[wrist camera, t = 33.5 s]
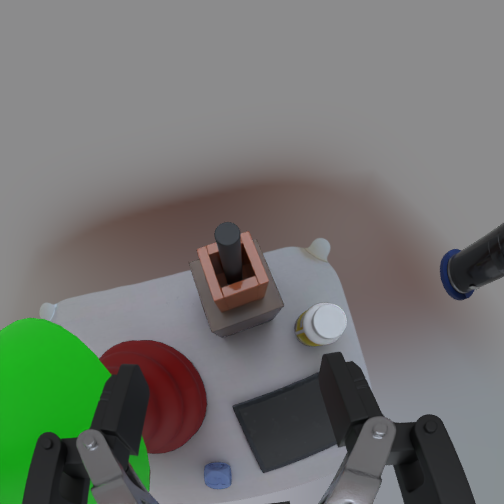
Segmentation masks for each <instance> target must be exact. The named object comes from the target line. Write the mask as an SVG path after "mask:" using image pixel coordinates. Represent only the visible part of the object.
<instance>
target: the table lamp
mask: <svg viewBox="0 0 504 504" xmlns="http://www.w3.org/2000/svg"><path fill="white" fill-rule="evenodd" d="M121 364H137V365H139V366H140V368H141V371H142V373H143V375H144V377H145V379H146V381H147V383H148V386H149V391H150V397H149V402H148V406H147V411H146V416H145V421H144V426H143V431H142V437H141V442H140V448H139V454H138V456H134V455H130V456H129V463H130V464H131V466H132V467H133V469H134V471H135V472H136V474H137V475H138V477H139V479H140V480H141V482H142V483H143V485H144V486H145V488H146V489H147V491H148V492H149V487H150V466H149V461H148V455H147V453H152V454H157V453H166V452H169V451H173V450H175V449H177V448H179V447H181V446H183V445H184V444H185V443H186V442H187V441H188V440H189V439H190V438H191V437H192V436H193V435H194V434H195V433H196V432H197V431H198V429H199V428H200V426H201V424H202V422H203V419H204V417H205V413H206V407H207V400H206V392H205V388H204V385H203V382H202V380H201V378H200V375H199V373H198V371H197V370H196V369H195V367H194V366H193V364H192V363H191V362H190V361H189V360H188V359H187V358H186V357H185V356H184V355H183V354H181V353H180V352H178V351H177V350H175V349H174V348H172V347H170V346H168V345H166V344H163V343H160V342H156V341H152V340H141V341H134V340H133V341H127V342H122V343H120V344H117V345H115V346H113V347H112V348H110V349H109V350H107V351H106V352H105V353H104V354H103V355H102V356H101V357H100V359H98V357H97V356H96V355H95V354H94V353H93V352H92V351H91V350H90V349H89V348H88V347H87V346H86V345H85V344H84V343H83V342H82V341H81V340H80V339H79V338H78V337H76V336H75V335H73V334H72V333H70V332H69V331H67V330H66V329H64V328H63V327H61V326H60V325H57V324H55V323H52V322H50V321H47V320H45V319H36V318H27V319H22V320H17V321H15V322H13V323H12V324H10V325H8V326H7V327H5V328H3V329H2V330H0V504H22V501H23V495H24V490H25V485H26V480H27V476H28V472H29V468H30V464H31V460H32V456H33V453H34V449H35V446H36V443H37V440H38V438H39V436H40V435H42V434H43V433H45V432H52V433H55V434H56V435H57V436H58V437H59V438H60V439H62V438H76V437H78V436H79V434H80V433H82V432H83V431H85V430H89V428H90V426H91V423H92V420H93V417H94V413H95V410H96V408H97V405H98V402H99V401H100V396H101V393H102V390H103V388H104V385H105V382H106V381H107V380H108V379H109V378H110V376H111V375H112V374H116V375H117V373H118V371H119V368H120V366H121ZM92 487H93V484H92V482H91V480H90V487H89V494H88V503H87V504H97V503H96V501H95V499H94V497H93V495H92V492H91V488H92Z"/></svg>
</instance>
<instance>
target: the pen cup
mask: <svg viewBox="0 0 504 504" xmlns="http://www.w3.org/2000/svg"><path fill="white" fill-rule="evenodd" d="M240 238H241V258H242V277H243V280H242V281H239V282H236V283H233V284H230V285H228V284H227V280H226V277H225V273H224V269H223V266H222V262H221V258H220V255H219V251H218V247H217V243H216V242H215V243H212V244H209V245H207V246H204V247H201V248H199V249H197V253H198V256H199V259H200V262H201V265H202V268H203V271H204V274H205V277H206V280H207V283H208V286H209V289H210V292H211V295H212V298H213V301H214V302H215V304H216V305H217V307H218V308H219V310H220V311H221V313H222V312H225V311H228V310H230V309H233V308H236V307H239V306H242V305H244V304H247V303H250V302H252V301H255V300H258V299H261V298H263V297H264V296H265V293H266V290H267V287H268V284H269V279H268V276H267V274H266V272H265V269H264V267H263V264H262V262H261V259H260V257H259V255H258V252H257V250H256V247H255V245H254V242H253V240H252V238H251V235H250V233H249V231H248V232H245V233H242V234H240Z"/></svg>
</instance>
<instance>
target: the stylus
mask: <svg viewBox="0 0 504 504" xmlns="http://www.w3.org/2000/svg"><path fill="white" fill-rule="evenodd" d="M215 239H216V243H217V247H218V251H219V255H220V258H221V262H222V266H223V269H224V273H225V277H226V280H227V284H228V285H230V284H233V283H236V282H239V281H242V280H243V277H242V258H241V238H240V230H239V228H238V227H237V225H235V224H234V223H231V222H225V223H222V224H220V225H219V226H218V227H217V228H216V230H215Z"/></svg>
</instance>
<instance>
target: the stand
mask: <svg viewBox="0 0 504 504" xmlns="http://www.w3.org/2000/svg"><path fill="white" fill-rule="evenodd" d="M253 242H254V245H255V247H256V250H257V252H258V255H259V257H260V259H261V262H262V264H263V267H264V269H265V272H266V274H267V276H268V279H269V284H268V287H267V290H266V293H265V296H264V297H263V298H261V299H258V300H255V301H252V302H250V303H247V304H244V305H242V306H239V307H236V308H233V309H230V310H228V311H225V312H222V313H221V311H220V310H219V308H218V307H217V305H216V304H215V302H214V301H213V298H212V295H211V292H210V289H209V286H208V283H207V280H206V277H205V274H204V271H203V268H202V265H201V262H200V259H198V260H196V261H193V262H190V263H189V265H190V269H191V272H192V275H193V278H194V281H195V284H196V287H197V290H198V293H199V296H200V299H201V302H202V305H203V308H204V311H205V314H206V317H207V320H208V323H209V326H210V328H211V331H212V332H213V333H215V334H216V335H218V336H220V337H222V338H223V337H226V336H229V335H232V334H234V333H237V332H240V331H243V330H245V329H248V328H251V327H254V326H256V325H259V324H262V323H264V322H267V321H270V320H272V319H274V317H275V316H276V315H277V314H278V312H279V311H280V310H281V309H282V308H283V306H284V304H283V301H282V299H281V297H280V294H279V292H278V289H277V287H276V284H275V282H274V280H273V277H272V275H271V272H270V270H269V268H268V265H267V263H266V260H265V258H264V256H263V253H262V251H261V248H260V246H259V244H258V241H257V240H253Z"/></svg>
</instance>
